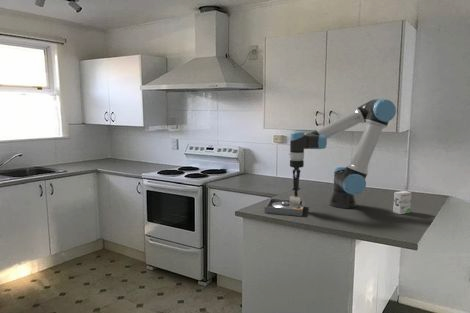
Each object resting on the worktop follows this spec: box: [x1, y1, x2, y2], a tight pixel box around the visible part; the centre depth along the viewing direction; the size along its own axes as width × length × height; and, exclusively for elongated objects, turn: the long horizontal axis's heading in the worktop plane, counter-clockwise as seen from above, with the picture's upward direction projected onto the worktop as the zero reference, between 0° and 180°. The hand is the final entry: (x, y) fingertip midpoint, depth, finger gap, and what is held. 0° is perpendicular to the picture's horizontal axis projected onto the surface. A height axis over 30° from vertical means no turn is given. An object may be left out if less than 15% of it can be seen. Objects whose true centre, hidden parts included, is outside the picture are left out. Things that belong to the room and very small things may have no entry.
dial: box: [272, 195, 301, 209], centre depth 208 cm, size 16×15×7 cm
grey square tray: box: [264, 197, 305, 217], centre depth 209 cm, size 20×20×4 cm
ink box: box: [392, 190, 413, 215], centre depth 208 cm, size 9×5×12 cm, turn 116°
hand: (295, 201), depth 208 cm, fingers closed
